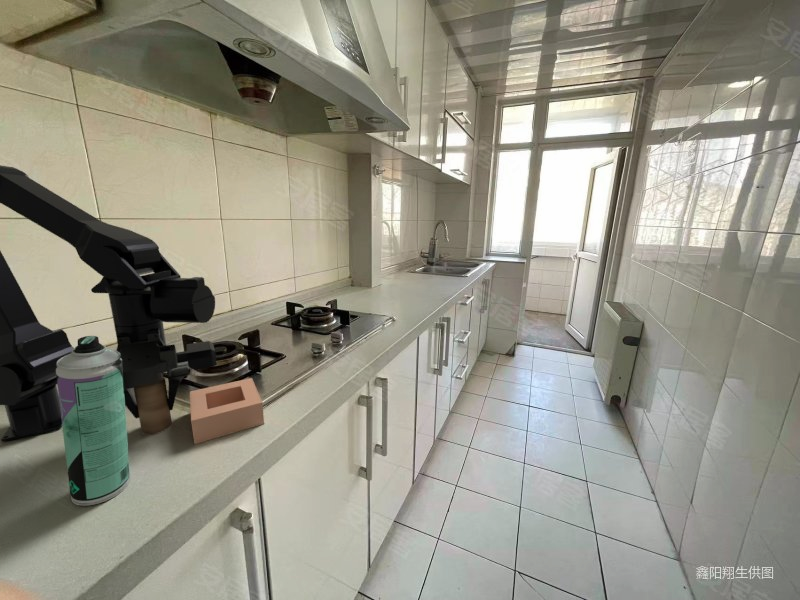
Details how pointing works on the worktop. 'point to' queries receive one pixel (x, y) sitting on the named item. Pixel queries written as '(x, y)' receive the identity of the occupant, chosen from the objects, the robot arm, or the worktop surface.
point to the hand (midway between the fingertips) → (154, 413)
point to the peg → (153, 407)
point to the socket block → (225, 409)
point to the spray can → (93, 421)
